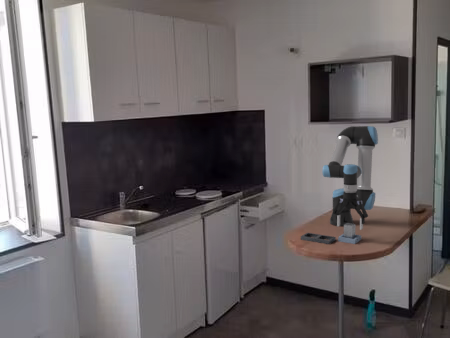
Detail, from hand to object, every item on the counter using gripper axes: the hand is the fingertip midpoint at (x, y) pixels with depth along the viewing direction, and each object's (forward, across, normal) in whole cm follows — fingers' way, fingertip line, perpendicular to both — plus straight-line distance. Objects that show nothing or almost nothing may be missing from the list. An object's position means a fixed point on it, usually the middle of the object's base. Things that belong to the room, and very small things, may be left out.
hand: (349, 227), depth 262 cm
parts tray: (+8, 0, 0) cm, 8 cm away
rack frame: (+8, -16, -8) cm, 20 cm away
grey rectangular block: (+7, 0, 0) cm, 7 cm away
